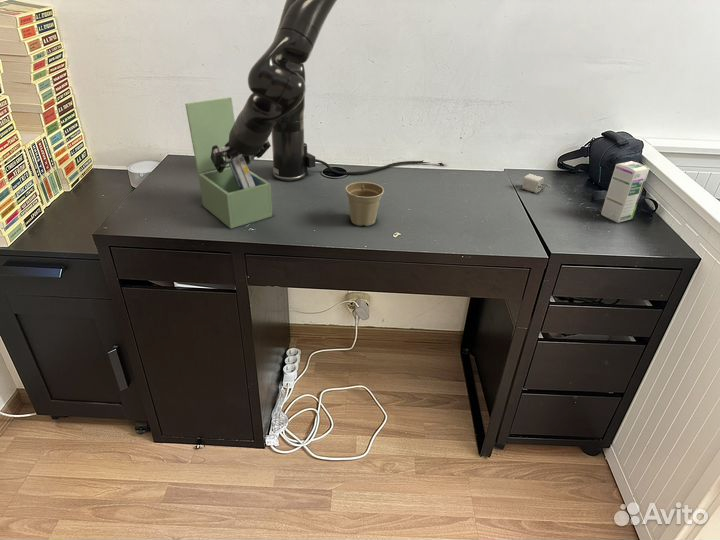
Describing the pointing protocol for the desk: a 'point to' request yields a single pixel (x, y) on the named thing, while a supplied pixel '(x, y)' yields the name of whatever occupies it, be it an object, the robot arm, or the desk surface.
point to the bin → (235, 198)
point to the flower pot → (364, 202)
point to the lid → (209, 128)
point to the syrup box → (624, 191)
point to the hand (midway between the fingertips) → (231, 166)
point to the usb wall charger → (534, 183)
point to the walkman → (242, 173)
